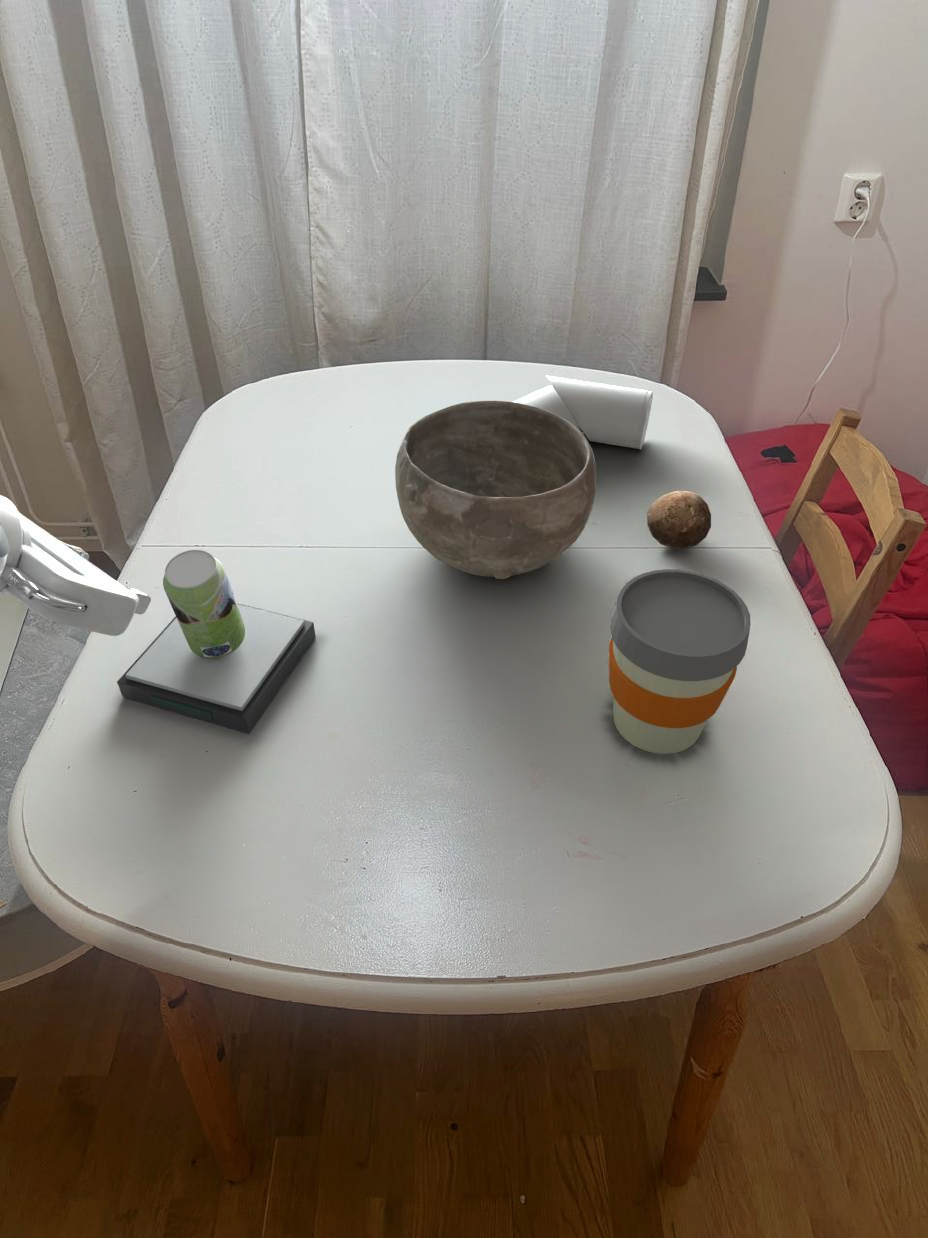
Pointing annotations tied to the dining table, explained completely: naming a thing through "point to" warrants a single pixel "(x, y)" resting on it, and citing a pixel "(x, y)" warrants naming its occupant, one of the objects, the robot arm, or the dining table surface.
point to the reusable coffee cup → (673, 656)
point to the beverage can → (204, 603)
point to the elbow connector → (597, 409)
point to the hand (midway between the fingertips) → (112, 580)
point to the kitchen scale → (220, 671)
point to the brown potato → (679, 519)
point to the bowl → (495, 486)
